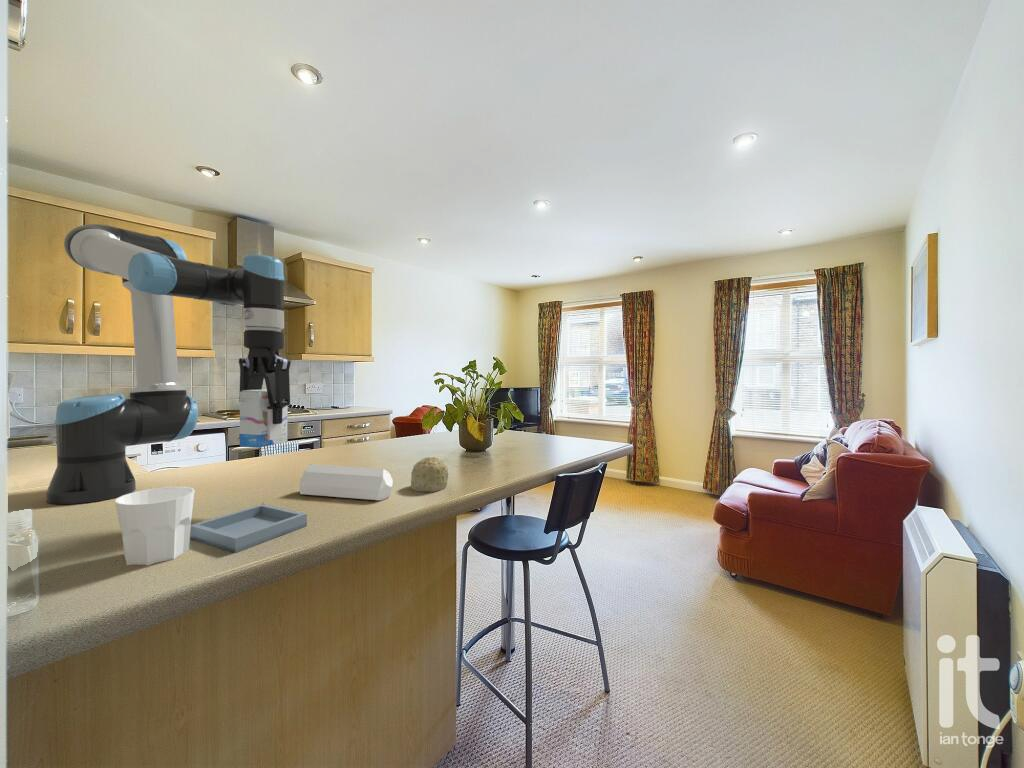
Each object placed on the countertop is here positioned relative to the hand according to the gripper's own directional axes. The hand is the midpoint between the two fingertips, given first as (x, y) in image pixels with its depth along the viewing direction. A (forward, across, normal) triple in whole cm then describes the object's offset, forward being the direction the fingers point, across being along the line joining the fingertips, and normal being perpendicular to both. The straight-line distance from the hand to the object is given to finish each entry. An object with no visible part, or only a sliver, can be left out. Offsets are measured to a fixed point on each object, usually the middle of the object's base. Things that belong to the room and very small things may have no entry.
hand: (264, 437), depth 95 cm
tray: (+16, +10, -10) cm, 21 cm away
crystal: (+16, +7, +16) cm, 24 cm away
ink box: (+2, 0, 0) cm, 2 cm away
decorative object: (+16, +21, +31) cm, 41 cm away
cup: (+16, +6, -23) cm, 29 cm away
